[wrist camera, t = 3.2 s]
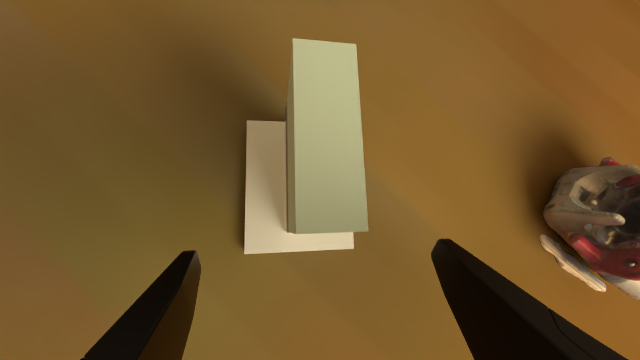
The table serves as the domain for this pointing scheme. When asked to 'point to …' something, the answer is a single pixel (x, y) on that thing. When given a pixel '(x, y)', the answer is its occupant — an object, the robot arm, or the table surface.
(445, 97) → the table surface
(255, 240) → the cream stepped block
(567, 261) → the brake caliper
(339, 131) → the pale green block
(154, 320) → the robot arm
